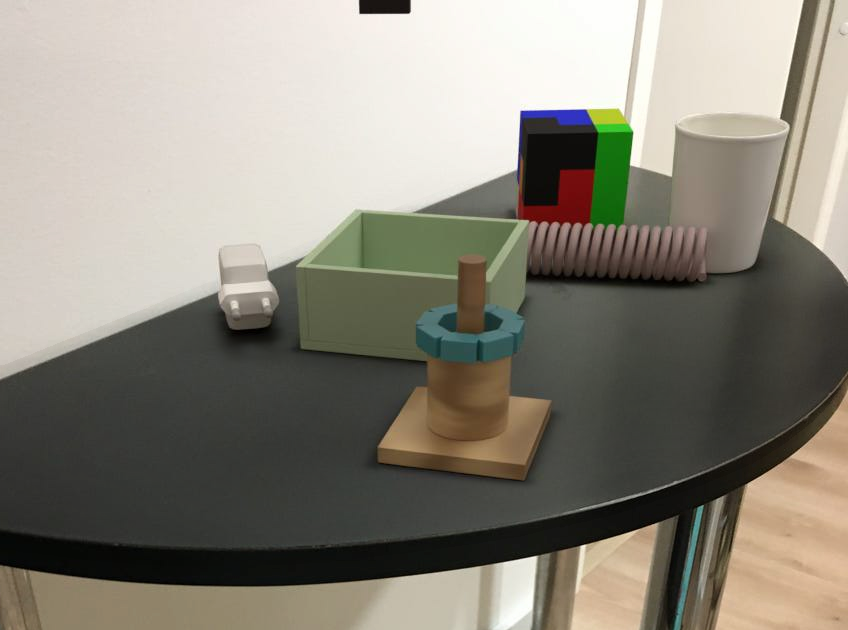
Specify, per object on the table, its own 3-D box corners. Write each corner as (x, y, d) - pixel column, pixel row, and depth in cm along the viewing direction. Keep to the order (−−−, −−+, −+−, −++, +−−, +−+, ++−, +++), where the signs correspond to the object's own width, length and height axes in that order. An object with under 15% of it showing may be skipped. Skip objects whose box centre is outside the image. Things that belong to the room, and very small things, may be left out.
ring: (530, 327, 75) (531, 307, 74) (510, 367, 70) (511, 346, 69) (432, 319, 76) (433, 299, 76) (406, 357, 71) (406, 336, 70)
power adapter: (286, 354, 90) (281, 282, 86) (226, 359, 89) (219, 287, 86) (272, 305, 99) (266, 238, 95) (217, 310, 98) (210, 243, 95)
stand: (550, 415, 80) (564, 239, 72) (524, 481, 72) (536, 292, 65) (416, 400, 82) (416, 229, 75) (377, 462, 75) (373, 279, 67)
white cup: (636, 259, 106) (652, 124, 99) (699, 236, 111) (719, 106, 104) (722, 284, 100) (746, 143, 93) (785, 259, 105) (812, 123, 98)
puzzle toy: (515, 210, 120) (520, 110, 114) (608, 209, 119) (618, 108, 113) (521, 240, 112) (527, 133, 106) (621, 238, 111) (633, 131, 105)
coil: (712, 223, 100) (513, 216, 103) (715, 233, 96) (508, 225, 100) (704, 275, 103) (510, 267, 106) (707, 288, 99) (505, 278, 102)
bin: (524, 298, 99) (529, 220, 94) (487, 367, 87) (490, 281, 83) (358, 284, 102) (355, 209, 98) (300, 349, 91) (295, 266, 87)
